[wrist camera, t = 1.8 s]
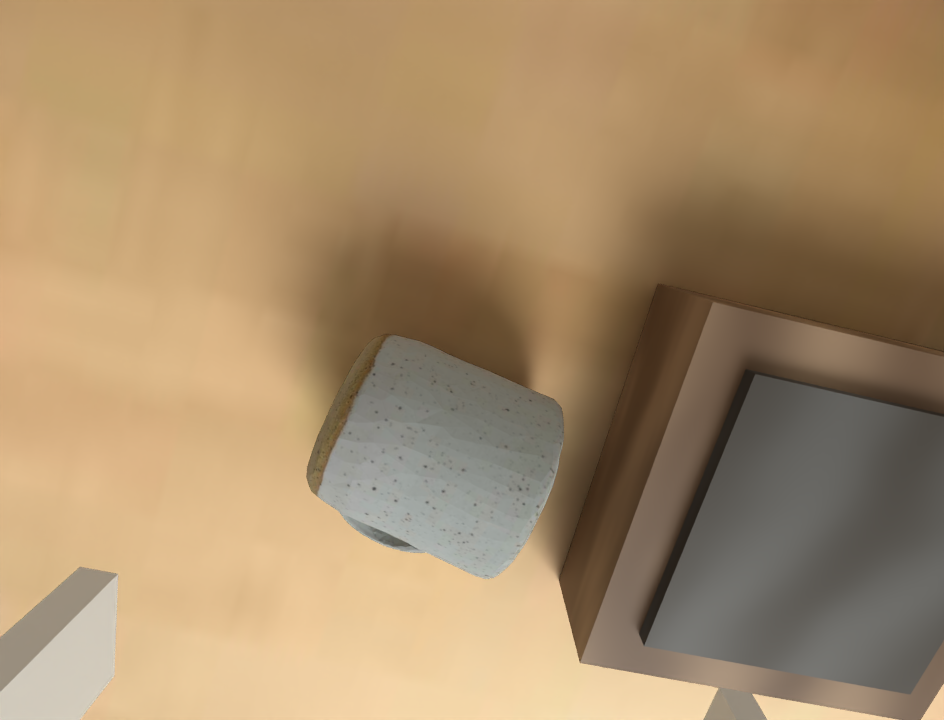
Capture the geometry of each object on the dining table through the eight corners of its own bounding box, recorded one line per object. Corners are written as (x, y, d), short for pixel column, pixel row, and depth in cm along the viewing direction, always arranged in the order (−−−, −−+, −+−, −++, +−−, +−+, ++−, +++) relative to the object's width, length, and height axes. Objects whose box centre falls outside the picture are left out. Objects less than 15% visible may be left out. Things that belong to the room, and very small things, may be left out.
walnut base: (559, 580, 26) (583, 675, 20) (658, 283, 22) (721, 304, 16) (838, 633, 27) (930, 736, 22) (984, 361, 23) (1145, 405, 17)
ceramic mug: (386, 305, 22) (343, 354, 14) (551, 376, 23) (589, 455, 15) (310, 496, 25) (242, 618, 17) (460, 552, 26) (455, 690, 18)
